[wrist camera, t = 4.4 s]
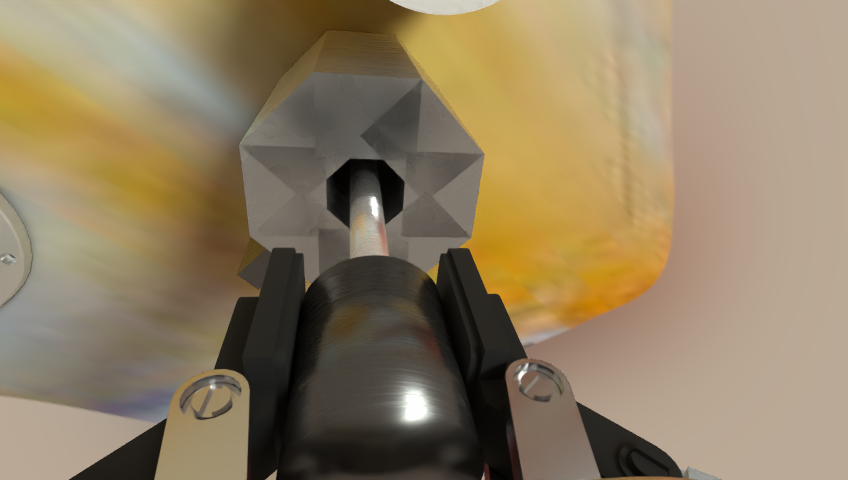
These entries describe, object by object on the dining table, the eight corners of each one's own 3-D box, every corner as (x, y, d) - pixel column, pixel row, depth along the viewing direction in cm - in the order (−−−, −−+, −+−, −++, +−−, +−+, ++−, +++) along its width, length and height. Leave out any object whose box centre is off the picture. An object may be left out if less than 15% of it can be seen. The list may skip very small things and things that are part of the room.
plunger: (361, 196, 24) (378, 557, 9) (309, 147, 22) (228, 492, 8) (414, 151, 23) (523, 470, 8) (364, 96, 21) (390, 375, 7)
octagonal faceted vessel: (329, 231, 32) (319, 355, 22) (220, 138, 28) (144, 237, 18) (461, 117, 29) (521, 198, 19) (362, -6, 25) (370, 15, 15)
